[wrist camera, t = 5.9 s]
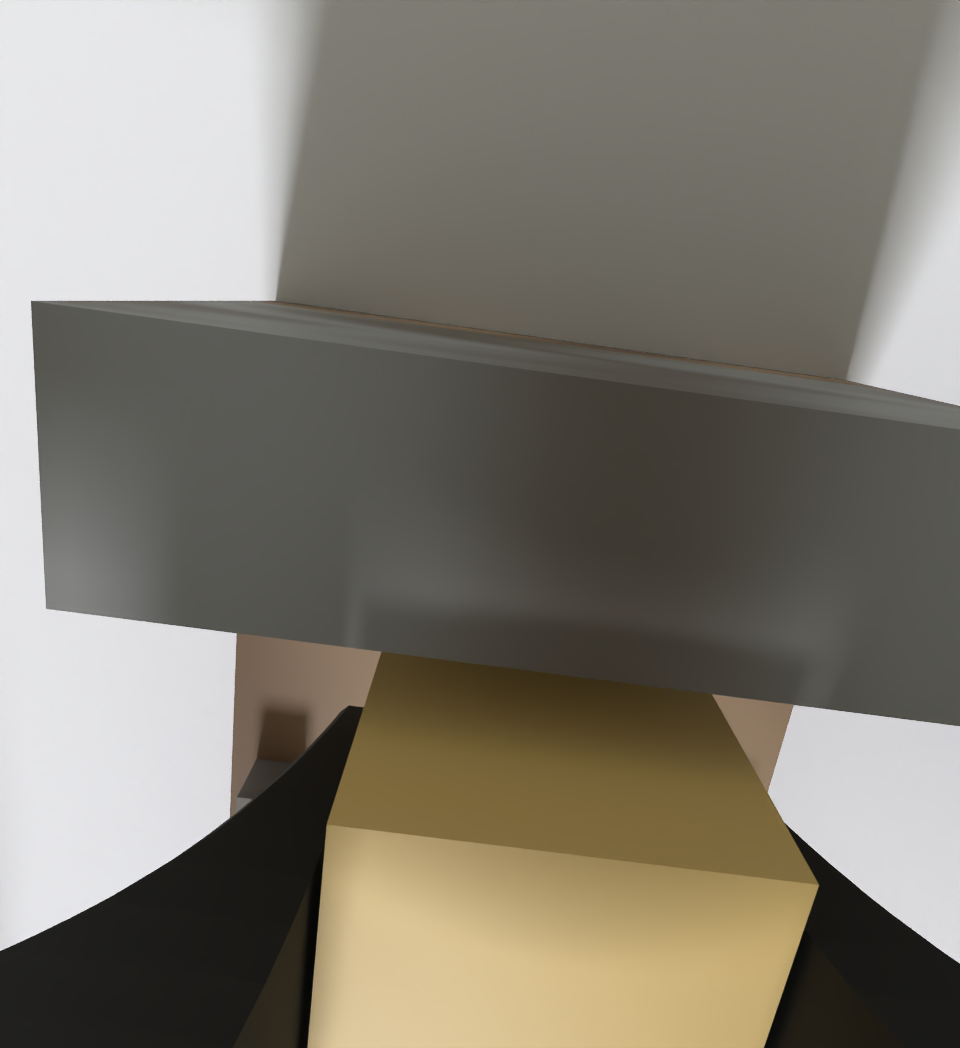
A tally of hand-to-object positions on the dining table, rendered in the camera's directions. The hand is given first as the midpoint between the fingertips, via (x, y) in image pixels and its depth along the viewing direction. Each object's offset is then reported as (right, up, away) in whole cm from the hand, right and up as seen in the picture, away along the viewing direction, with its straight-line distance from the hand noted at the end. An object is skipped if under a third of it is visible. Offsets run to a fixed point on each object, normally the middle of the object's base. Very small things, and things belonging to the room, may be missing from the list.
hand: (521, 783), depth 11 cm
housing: (0, +1, +2) cm, 2 cm away
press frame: (-1, -4, +6) cm, 7 cm away
